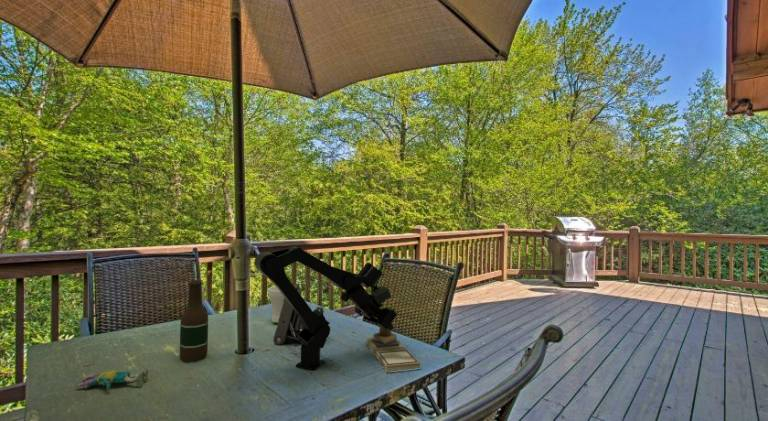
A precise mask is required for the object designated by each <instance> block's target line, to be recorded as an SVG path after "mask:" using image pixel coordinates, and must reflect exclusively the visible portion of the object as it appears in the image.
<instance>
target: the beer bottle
mask: <svg viewBox="0 0 768 421" xmlns="http://www.w3.org/2000/svg"><path fill="white" fill-rule="evenodd" d="M202 284H203V282H202V280H200V279H198V280H197V279H195V280H190V281H189V282H188V286H189V291H188V300H187V301H188V302H187V306H186V309H184V311H183V313H182V315H181V316H180V317H181V318H180V326H179V327H180V328H179V329H180V330H179V335H180V336H179V360H180V361H182V362H184V363H197V362H199V361H202V360H205V358H206V357H207V355H208V347H209V346H208V345H209V315H208V312H207V309H206V308H205V307H204V306H203V301H202V300H203V299H202V297H203V296H202Z"/></svg>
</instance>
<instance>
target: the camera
mask: <svg viewBox="0 0 768 421" xmlns="http://www.w3.org/2000/svg"><path fill="white" fill-rule="evenodd" d="M293 286H294V287H295V288H296V290H297V291H298V292H299V294H300V295H301V294H302V289H301V287H300V284H298V283H296V284H294V285H293ZM301 296H302V295H301ZM316 310H317V311H319V312H321V313H322V314H323V315H324V312H325V311H324V308H323V307H320V306H316ZM303 328H304V327H303V325H302V323H301V319H300V317H299V316H298V314H297V313H296V312H295V310H294V309H293V308H292V306H291V305H290V304H289V303H288V301H287V300H286V299H285V297H284V300H283V305H282V309H281V313H280V317H279V320H278V323H276V329H275V331H274V335H273V340H272V341H273V343H274V345H276V346H282V345H283V344H284V343H285V341H286V340H287V339H288V338H289V339H293V340H297V341H299V340H298V337H297V335H298V334H299V333H300V332H301V330H302V329H303Z"/></svg>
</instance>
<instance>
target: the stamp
mask: <svg viewBox="0 0 768 421" xmlns="http://www.w3.org/2000/svg"><path fill="white" fill-rule="evenodd" d="M397 335H398V334H396V333H393V332H392V330H390V329H387V328H386V329H385V328H383V327H380V326H379V332H376V333H373V337H372V338H373V340H374V341H376V342H379V343H381V344H384V345H386V344H389V343H392V342H396V341H397V340H398V339H397V338H398V336H397Z"/></svg>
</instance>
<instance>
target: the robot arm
mask: <svg viewBox="0 0 768 421" xmlns="http://www.w3.org/2000/svg"><path fill="white" fill-rule="evenodd" d="M253 262H254V263H253V264H254V267H255V268H256V270H258V272H260V273H261V274H262V275H263V276H264V277H265V278H267V279H268V280H269V281H270V282H272V284H274V286H276V287H277V288H278V290H279V291H280V292H281V293H282V295H283V296H284V297H285V299H286V300H287V301H288V303H289V304H290V305H291V306H292V308H293V309H294V310H295V312H296V313H297V314H298V316H299V317H300V319H301V323H302V325H303V327H304V328H303V329H300V331H301V332H300V333H299V334H298V335H297V337H298V340H297V341H298V342H299V343H301V346H300V362H298V363H297V364H296V365H295V368H300V369H305V370H311V371H315V370H318V369H319V367H321V366H322V365H323V364H324V363H326V362H325V361H326V360H324V359H321V349H323V348H325V344H326V341H327V339H328V338H329V336H330V335H331V334H330V333H331V327H330V324H331V323H330V322H329V321H328V320H327V319H326V317H325V315H324V313H323V314H322V313H321V312H319V311H320V310H319V311H317V310H316V309H314V310H312V308H311V307H310V306H309V305H308V303H307V302H306V301H305V299H304V298H303V297H302V295H300V294H299V292H298V291H297V290H296V288H295V287H294V285H293V284H294V283H292V282H291V280H290V279H289V278H288V276H287V273H286V271H285V270H286V269H285V268H286V267H288V266H290V265H292V264H294V263H296V262H297V263H298V264H301V265H303V266H304V267H306V268H308V269H310V270H312V271H314V272H316V273H318V274H320V275H321V276H323V277H324V278H325V279H326V280H327V281H328V282H330V283H331V284H332V285H334V286H335V287H336V288H339V289H341V290H342V291H341V293H340V294H341V295H340V300H341V301H344V302H345V303H346V302H348V301H349V300H350V301H351V302H352V303H353V304H354V307H355V308H354V312H355V314H357V316H360V317H363V319H365V320H367V321H369V322H372V323H375V325H377V326H379V328H380V327H383V328H385V329H386V328H387V329H390V330H391V331H393V330H394V325H393V323H392V322H394V320H395V319H396V317H397V316H398V313H397V311H396V310H395V309H393V308H391V307H387V306H386V307H383V306H384V304H383V303H385V302H386V301H387V300H389V299H391V298H392V294H391V293H390V290H389V288H388V287H385V286H382V285H380V286H378V285H376V284H377V282H378V281H379V280H380V279H381V278H382V277H383V276H384V275H383V272H382V271H381V270H380V269H378V268H377V267H376V266H375V265H373V264H372V263H371V262H368V261H367V262H366V263H364V266H363V268H362V269H361V270H360V271H359V272H358V273H354V272H350V271H347V270H344V269H341V268H340V267H335V266H332V265H330V264H329V263H327V262H325V261H323V260H321V259H319V258H318V257H316V256H314V255H312V254H310V253H308V252H306V251H305V250H304V249H303V248H301V247H298V246H294V245H293V246H291V247H288V248H283V249H280V250H274V251H272V252H268V251H263V252H260V253H258V254H257V255H256V257H255V258H254V261H253ZM365 288H366V289H365ZM369 288H370V293H369V291H367V289H369ZM343 290H344V291H343ZM382 307H383V308H382Z"/></svg>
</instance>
